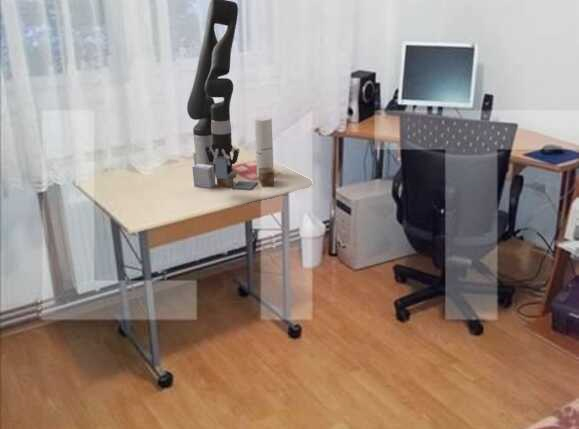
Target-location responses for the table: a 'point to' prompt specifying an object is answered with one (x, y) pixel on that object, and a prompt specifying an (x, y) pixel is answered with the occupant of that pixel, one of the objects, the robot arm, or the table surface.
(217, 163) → the block
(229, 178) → the bearing block
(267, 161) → the cylindrical container
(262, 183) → the bearing block
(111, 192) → the table surface
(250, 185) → the pad
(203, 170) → the medicine box
